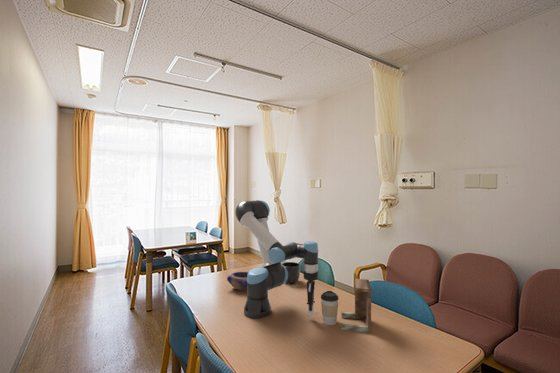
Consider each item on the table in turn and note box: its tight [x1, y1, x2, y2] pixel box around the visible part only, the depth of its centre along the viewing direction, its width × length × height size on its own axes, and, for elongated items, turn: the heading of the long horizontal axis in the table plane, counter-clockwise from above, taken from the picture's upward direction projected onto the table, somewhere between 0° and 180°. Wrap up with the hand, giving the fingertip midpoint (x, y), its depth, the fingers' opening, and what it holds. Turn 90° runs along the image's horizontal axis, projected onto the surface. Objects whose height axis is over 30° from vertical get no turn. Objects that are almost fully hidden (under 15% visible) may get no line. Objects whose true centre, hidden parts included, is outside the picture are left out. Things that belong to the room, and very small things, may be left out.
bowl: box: [226, 271, 249, 291], centre depth 193 cm, size 18×18×10 cm
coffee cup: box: [320, 290, 339, 326], centre depth 145 cm, size 9×9×15 cm
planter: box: [281, 261, 301, 285], centre depth 206 cm, size 14×14×13 cm
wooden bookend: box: [340, 278, 372, 334], centre depth 143 cm, size 14×14×21 cm
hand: (310, 315), depth 148 cm, fingers closed
